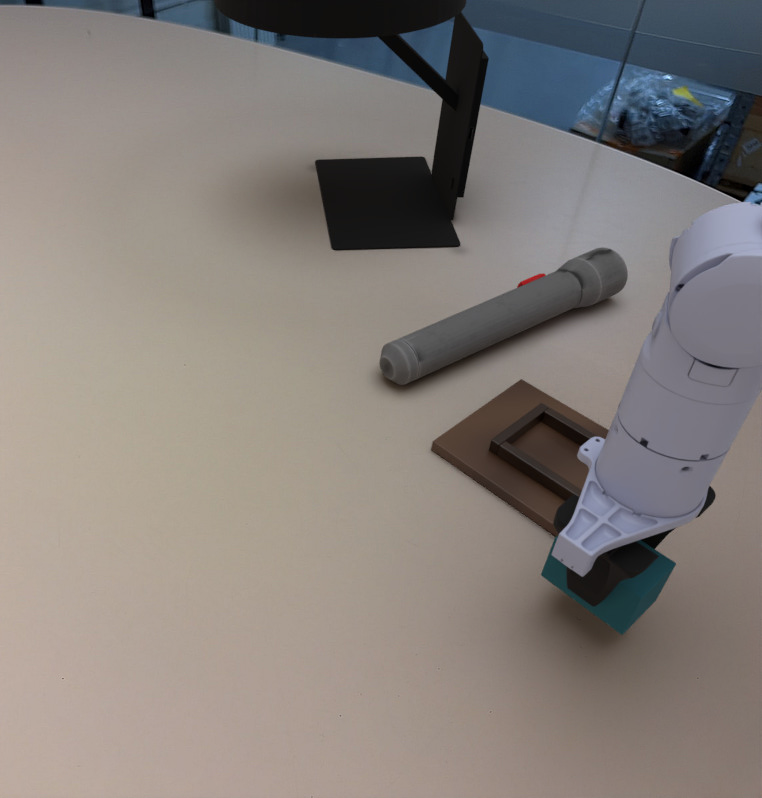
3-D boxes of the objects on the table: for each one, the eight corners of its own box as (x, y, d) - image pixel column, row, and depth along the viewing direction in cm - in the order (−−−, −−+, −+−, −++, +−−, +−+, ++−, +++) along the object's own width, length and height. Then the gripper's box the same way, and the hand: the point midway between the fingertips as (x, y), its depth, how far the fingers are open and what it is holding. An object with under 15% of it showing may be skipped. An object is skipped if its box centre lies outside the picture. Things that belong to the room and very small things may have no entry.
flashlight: (390, 402, 74) (362, 357, 75) (607, 302, 83) (579, 263, 85) (412, 379, 69) (382, 331, 71) (639, 277, 79) (609, 236, 80)
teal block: (656, 600, 53) (677, 563, 50) (622, 635, 51) (641, 598, 48) (574, 544, 56) (590, 506, 54) (540, 575, 54) (554, 538, 52)
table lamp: (477, 254, 89) (570, -194, 62) (222, 261, 89) (204, -181, 63) (432, 151, 108) (488, -226, 81) (221, 158, 108) (208, -216, 82)
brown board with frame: (691, 488, 63) (701, 469, 62) (604, 570, 58) (613, 552, 56) (518, 387, 73) (524, 368, 71) (430, 449, 67) (434, 430, 66)
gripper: (673, 334, 49) (610, 485, 58) (529, 446, 43) (482, 596, 52) (794, 392, 45) (706, 544, 54) (655, 526, 38) (580, 673, 48)
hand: (603, 574), depth 53 cm, fingers closed on teal block, 4 cm apart
